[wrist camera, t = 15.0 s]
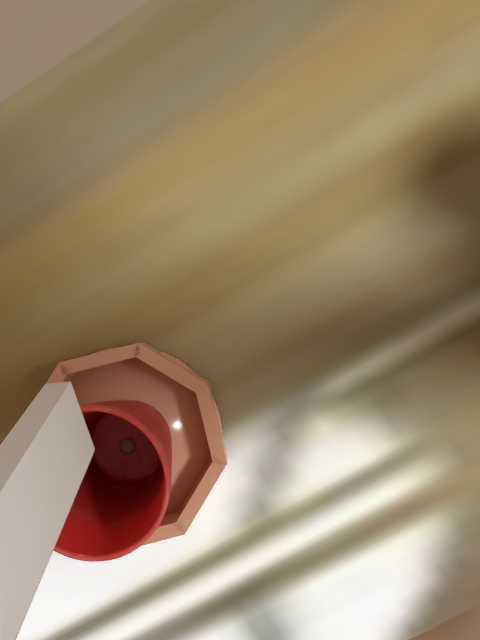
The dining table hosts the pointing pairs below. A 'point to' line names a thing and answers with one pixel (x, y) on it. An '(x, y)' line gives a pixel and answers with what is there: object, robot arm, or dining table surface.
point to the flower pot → (119, 482)
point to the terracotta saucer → (174, 405)
